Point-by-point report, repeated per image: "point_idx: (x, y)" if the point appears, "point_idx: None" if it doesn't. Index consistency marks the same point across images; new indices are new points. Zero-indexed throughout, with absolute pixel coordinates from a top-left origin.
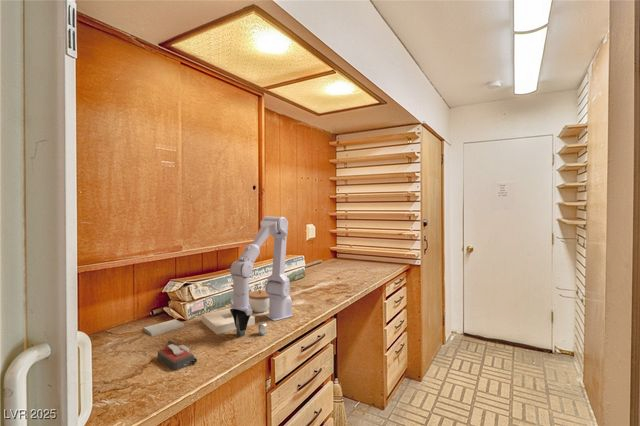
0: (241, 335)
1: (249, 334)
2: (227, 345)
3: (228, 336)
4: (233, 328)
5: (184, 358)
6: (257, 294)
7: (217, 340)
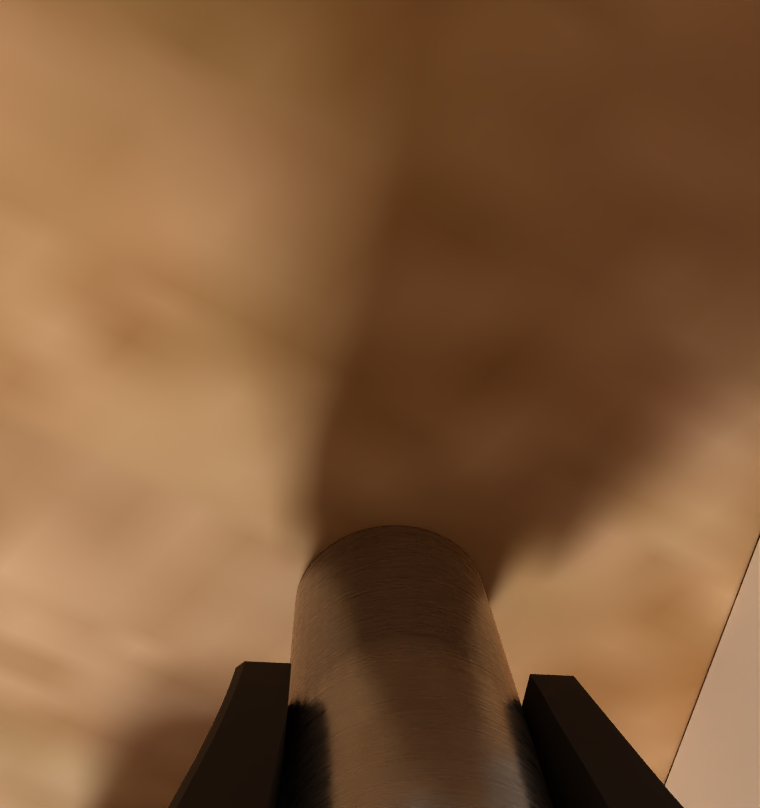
0: (296, 599)
1: None
2: (39, 90)
3: (530, 388)
4: (747, 640)
5: None
6: None
7: (535, 40)
